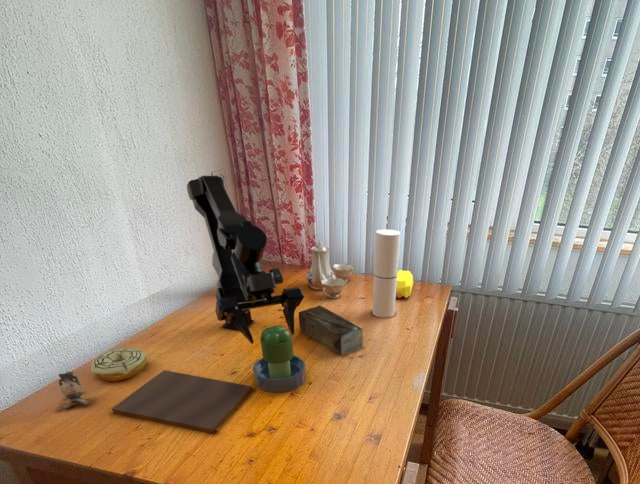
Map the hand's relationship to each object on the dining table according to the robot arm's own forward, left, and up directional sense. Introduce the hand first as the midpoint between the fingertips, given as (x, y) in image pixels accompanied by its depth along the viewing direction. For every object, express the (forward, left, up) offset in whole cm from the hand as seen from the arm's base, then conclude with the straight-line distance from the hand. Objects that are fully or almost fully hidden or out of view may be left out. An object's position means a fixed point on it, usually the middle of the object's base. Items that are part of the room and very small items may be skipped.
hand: (273, 338), depth 85 cm
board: (-14, -14, -10) cm, 22 cm away
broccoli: (+1, -1, -9) cm, 10 cm away
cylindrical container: (+15, +45, -10) cm, 48 cm away
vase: (-35, -20, -10) cm, 41 cm away
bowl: (+1, -1, -10) cm, 10 cm away
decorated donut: (-35, -8, -10) cm, 37 cm away
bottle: (-37, +44, -10) cm, 58 cm away
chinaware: (-9, +60, -10) cm, 62 cm away
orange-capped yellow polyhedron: (+17, +66, -10) cm, 69 cm away
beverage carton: (+5, +22, -10) cm, 24 cm away
